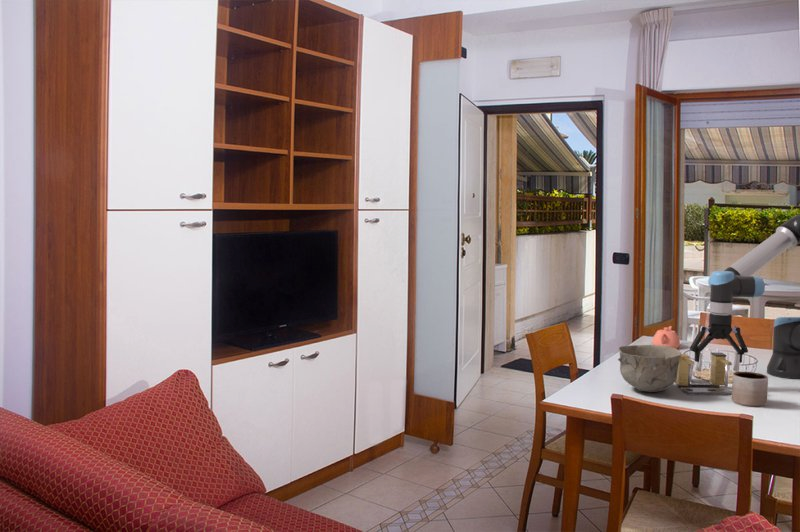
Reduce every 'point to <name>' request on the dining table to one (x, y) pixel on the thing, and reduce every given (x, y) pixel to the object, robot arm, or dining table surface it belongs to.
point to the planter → (749, 389)
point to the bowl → (649, 366)
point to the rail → (699, 386)
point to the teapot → (666, 338)
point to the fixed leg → (684, 371)
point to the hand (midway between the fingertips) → (717, 371)
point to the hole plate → (707, 391)
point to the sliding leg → (719, 369)
